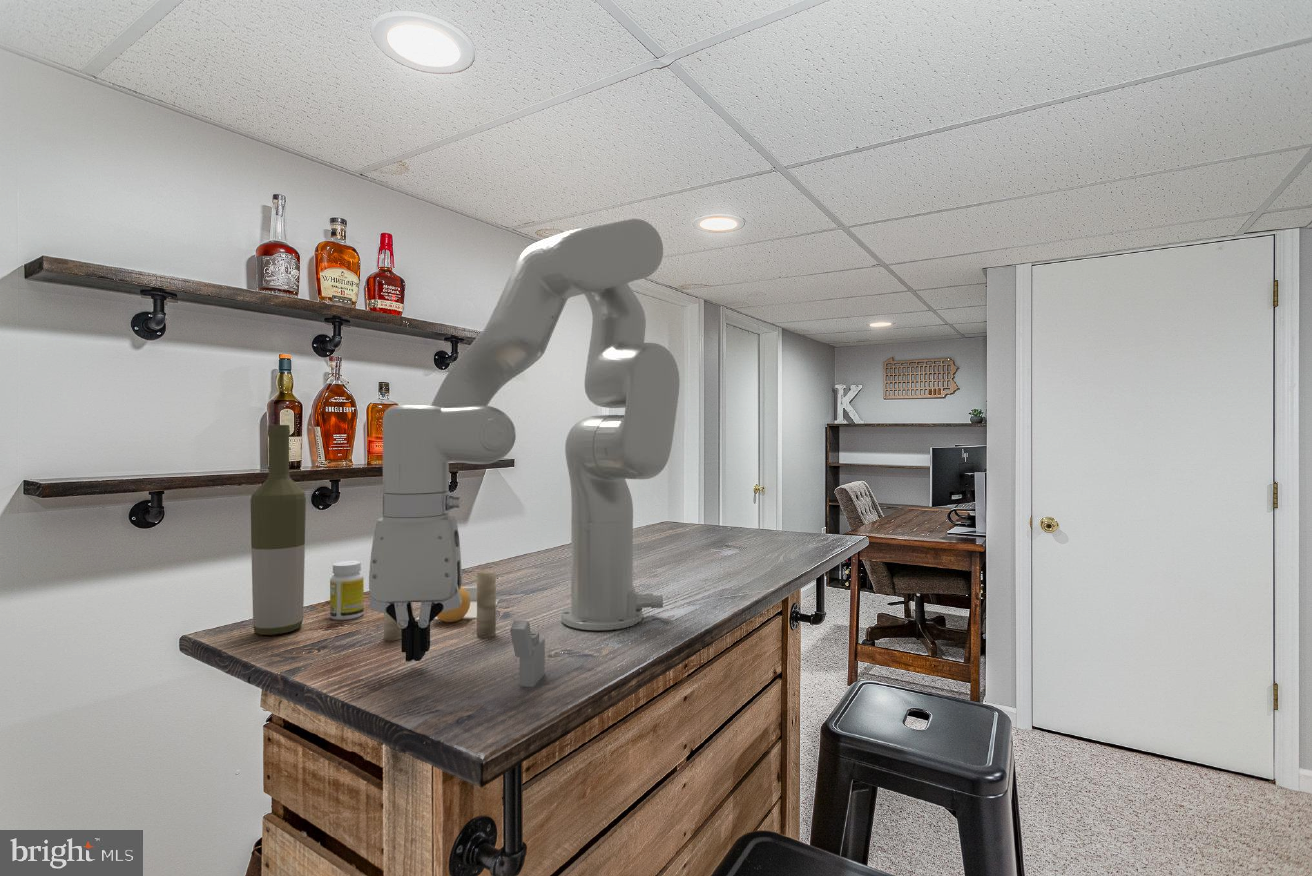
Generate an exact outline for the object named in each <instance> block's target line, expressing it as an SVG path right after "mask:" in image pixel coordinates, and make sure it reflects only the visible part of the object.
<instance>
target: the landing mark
mask: <svg viewBox="0 0 1312 876" xmlns="http://www.w3.org/2000/svg"><path fill="white" fill-rule="evenodd" d="M499 602H500V599H499V598H498V599H497V598H496V606H497V605H498V603H499ZM472 619H474V620H475V619H476V620H477V601H470V607H469V610H468V612H467V614H466V615H465V616H464V617H463V618H462V619H461V620H472ZM418 620H419V616H418V617H416V618H415V621H418ZM436 620H437V621H438V620H439V621H441V620H440V619H439V618H437V617H435V618H434V619H433V620H432V621H436Z"/></svg>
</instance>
